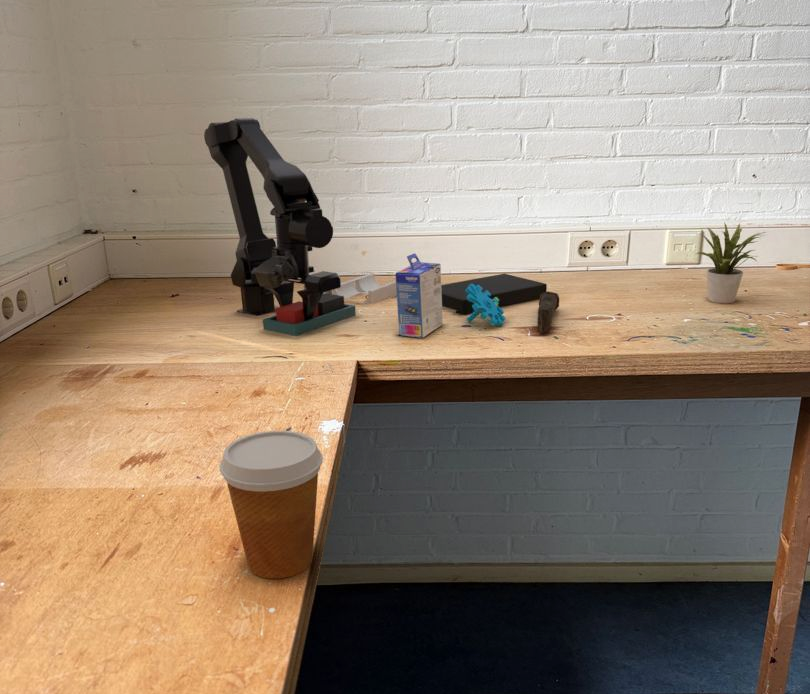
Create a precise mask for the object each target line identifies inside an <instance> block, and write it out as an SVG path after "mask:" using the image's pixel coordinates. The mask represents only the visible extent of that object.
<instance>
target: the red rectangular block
mask: <svg viewBox="0 0 810 694" xmlns="http://www.w3.org/2000/svg"><path fill="white" fill-rule="evenodd" d="M275 308H276V311H275V313H276V314H275V315H276V318H277V321H281V322H286V323H291V324H297V323H300V322H303V321H305V319H304V312H303V302H302V301H294V302H293V303H292V304H288V305H285V306H282V307H280V306H279V307H275ZM315 317H318V305H317V307H316V310H315V312H314V315H313V317H312V318H315Z"/></svg>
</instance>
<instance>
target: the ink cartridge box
mask: <svg viewBox="0 0 810 694" xmlns="http://www.w3.org/2000/svg"><path fill="white" fill-rule="evenodd" d="M406 259H407V260H408V263H409V266H407V267H405V268H403V269H401V270H399V271H397V272H395V281H396V290H397V296H396V302H397V303H396V304H397V321H398V332H399V333H398V335H399V336H402V337H410V338H420V339H421V338H422V339H423V338H425V337H426V336H428V335H429V334H430V333H432V332H433V331H436V330H437V329H438V328H440V327H442V326H443V324H444V322H443V306H442V289H441V285H442V268H441V267H442V266H441V264H440V263H435V262H422V261H421V260H420V259H419V257H418V256H417V254H416V253H415V252H414V253H412V254H410V255H407V256H406ZM413 259H415V260H416V261H412V260H413Z"/></svg>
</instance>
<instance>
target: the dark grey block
mask: <svg viewBox="0 0 810 694" xmlns="http://www.w3.org/2000/svg"><path fill="white" fill-rule="evenodd" d="M344 304H345V299H344V296H339V295H333V293H332V294H327V293H325V294H323V295H322V297H321V299H320V300H319V303H318V316H321V315H324V314H327V313H330V312H333V311H336V310H339V309H342V308H344Z"/></svg>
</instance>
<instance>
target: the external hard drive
mask: <svg viewBox="0 0 810 694" xmlns="http://www.w3.org/2000/svg"><path fill="white" fill-rule="evenodd" d="M470 284H474V285H475V287H476V286H477V285H479V286H481V287H482V290H481V292H482V293H484V292H485V291H486V290H487V291H488V292H489V293H490V294H491V296H489V298H490V299H494V298H495V297H497V298H498V299H499V301H498V303H499V304H498V307H500V308H502V307H505V306H510V305H514V304H515V305H516V304H521V303H525V302H529V301H534V300H539V297H540V295H541V294H542V293H545V292H548V291H547V289H548V285H547V283H545V282H541V281H537V280H532V279H529V278H525V277H521V276H520V277H519V276H517V275H516V276H515V275H512V274H509V273H501V274H495V275H488V276H483V277H478V278H472V279H468V280H467V279H466V280H462V281H456V282H450V283H445V284H444V283H443V284H441V289H442V307H444V308H447V309H450V310H453V311H455V313H457V314H459V315H467V314H472V313H473V312H474V311H475V310H474V309H473V307H472V305H473V304H474V303H473V302H470V301H468V300H467V296H468V295H469V294H468V293H466V291H465V290H466V289H467V288H468V286H469V285H470Z"/></svg>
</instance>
